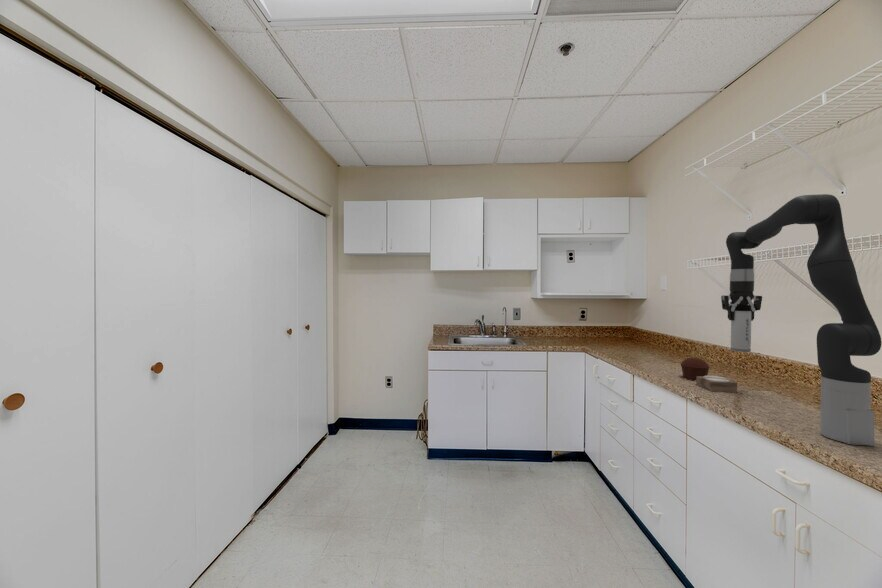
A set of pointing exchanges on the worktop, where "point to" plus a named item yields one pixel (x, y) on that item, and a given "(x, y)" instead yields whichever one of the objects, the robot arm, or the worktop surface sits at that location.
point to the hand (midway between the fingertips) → (740, 320)
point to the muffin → (694, 368)
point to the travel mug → (741, 329)
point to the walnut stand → (716, 384)
